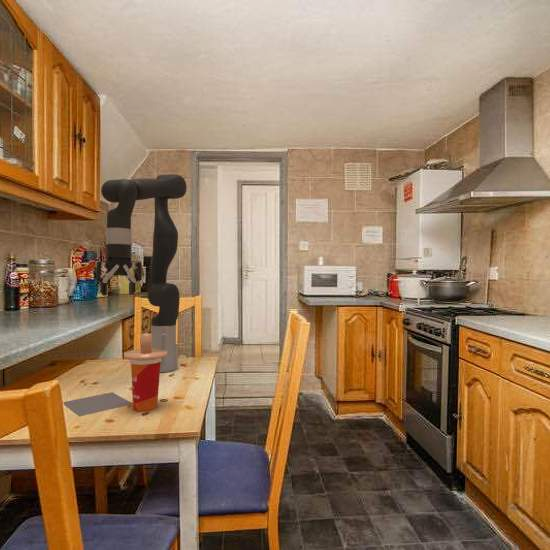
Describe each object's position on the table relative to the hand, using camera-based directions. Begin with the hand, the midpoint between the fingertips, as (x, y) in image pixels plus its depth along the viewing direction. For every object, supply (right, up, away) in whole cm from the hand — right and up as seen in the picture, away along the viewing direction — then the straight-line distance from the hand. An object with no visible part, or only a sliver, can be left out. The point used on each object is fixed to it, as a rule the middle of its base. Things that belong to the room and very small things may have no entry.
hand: (118, 295), depth 123 cm
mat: (0, -30, -15) cm, 33 cm away
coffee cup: (+14, -31, -18) cm, 38 cm away
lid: (+15, -15, -18) cm, 27 cm away
